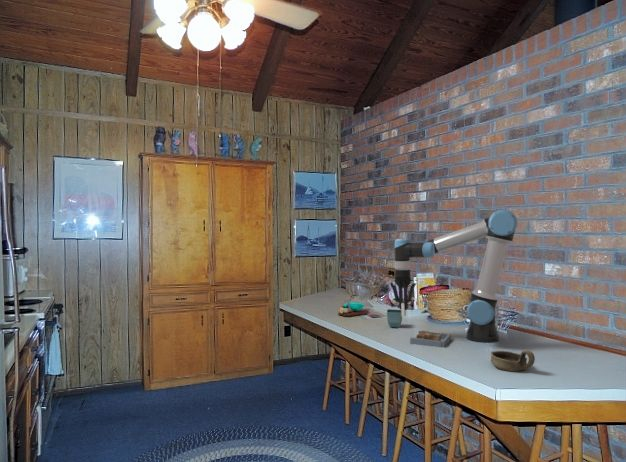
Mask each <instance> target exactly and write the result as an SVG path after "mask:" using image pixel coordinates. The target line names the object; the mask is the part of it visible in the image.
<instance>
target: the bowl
mask: <svg viewBox="0 0 626 462" xmlns="http://www.w3.org/2000/svg"><path fill="white" fill-rule="evenodd" d="M526 355H527V356H528V358H527V357H526ZM527 359H528V360H527ZM535 360H536V357H535V354H534V353H533V351H531V350H529V349H525V350H522V351H521V353H516V352H512V351H507V350H494V351H490V362H491V364H492V365H493V366H494V367H495V368H496V369H499V370H501V371H505V372H521V371H524V370H527V369H529V368H531V367H532V366H534V364H535Z"/></svg>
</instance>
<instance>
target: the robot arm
mask: <svg viewBox="0 0 626 462" xmlns="http://www.w3.org/2000/svg"><path fill="white" fill-rule="evenodd" d="M517 227H518V218H517V216H516V215H515V213H514V212H512V211H511V210H507V209H498V210H495V211H494V212H493V213H492V214H490V216H489V217H486V218H484V219H483V220H482V221H481V222H478V223H475V224H472V225H469V226H467V227H464V228H461V229H458V230H455V231H453V232H449V233H446V234H443V235H441V236H437V237H434V238H432V239H429V240H426V241H423V242H422V241H420V242H419V241H417V242H410V238H396V239H395V240H394V268H395V270H394V274H395V275H394V281H393V282H390V284H389V285H390V286H391V288H392V292H393V296H394V299H395V302H397V303H398V304H399V307H398V308H399V310H401V314H402V317H406V316H407V310H408V309H409V306H408V305H409V303H411V302H412V298H413V294H414V289H415V287H416V285H417V283H415V282H413V281H412V279H411V270H410V269H411V258H423V259H424V258H426V259H427V258H428V259H429V258H433V257H435V254H438V253H441V252H443V251H447V250H449V249H454V248H456V247H458V246H459V247H460V246H463V245H465V244H468V243H472V242H474V241H478V240H480V239H484V238H487V245H486V248H485V251H484V257H483V261H482V264H481V268H480V272H479V276H478V280H477V284H476V288H475V289H474V290H472V291H471V293H470V296H469V303H468V304H467V307H466V315H467V318H468V319H469V325H468V327H467V331H466V339H468V340H470V341H473V342H479V343H495V342H499V340H500V336H499V332H498V329H497V325H496V307H497V304H498V300H499V299H498V296H497V295H496V292H497V288H498V284H499V280H500V277H501V273H502V269H503V265H504V261H505V257H506V253H507V249H508V246H509V244H510V243H513V240H514V237H515V232H516V229H517ZM409 286H410V288H408V287H409ZM397 287H398V288H397ZM408 289H409V290H408ZM408 291H409V292H408Z"/></svg>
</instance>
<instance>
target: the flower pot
mask: <svg viewBox="0 0 626 462" xmlns="http://www.w3.org/2000/svg"><path fill="white" fill-rule="evenodd" d="M386 320H387V324H388V327H390V328H398V329H399V328H400V327H401V325H402V322H403V316H402V314H401V309H391V308H389V309H388V308H387V309H386Z"/></svg>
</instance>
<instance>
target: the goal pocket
mask: <svg viewBox="0 0 626 462" xmlns="http://www.w3.org/2000/svg"><path fill="white" fill-rule="evenodd" d="M421 331H422V330H419V331H418V334H419V333H420V332H421ZM428 332H429V333H431V334H440V335H441V341H435V340H427V339H419V338H417V337H410V338H409V342H410V343H409V345H415V344H416V346H427V347H434V346H435V347H436V348H443V347H444V346H445V347H446V346H447V345H448V344H449V342H450V341H451V340H452V334H449V333H440V332H432V331H428ZM435 347H434V348H435ZM445 347H444V348H445Z"/></svg>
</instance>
